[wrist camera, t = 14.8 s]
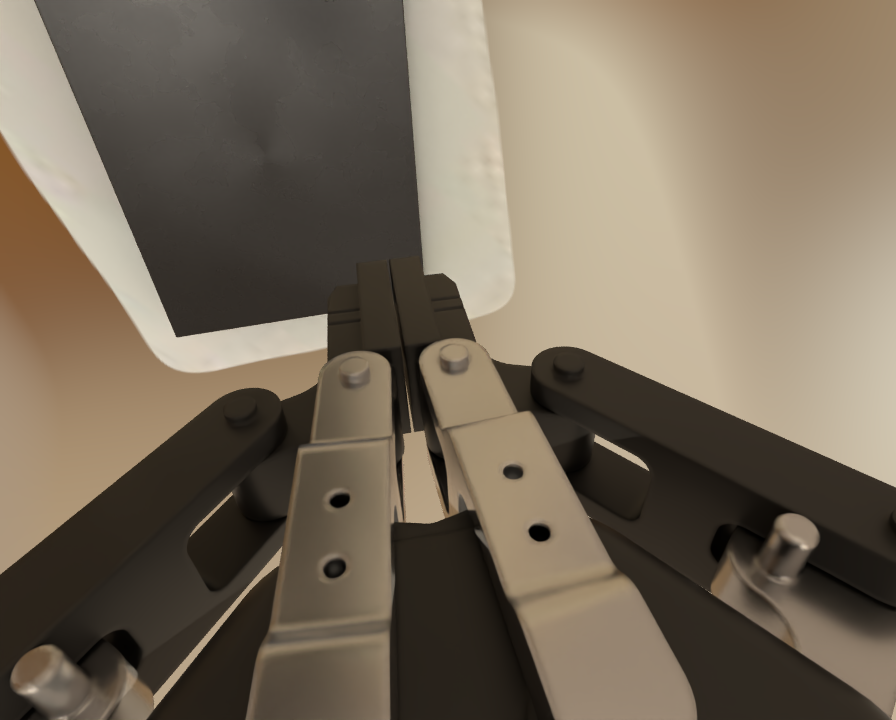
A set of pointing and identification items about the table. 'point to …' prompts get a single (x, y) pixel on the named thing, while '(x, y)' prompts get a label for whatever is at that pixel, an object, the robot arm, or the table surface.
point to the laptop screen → (248, 144)
